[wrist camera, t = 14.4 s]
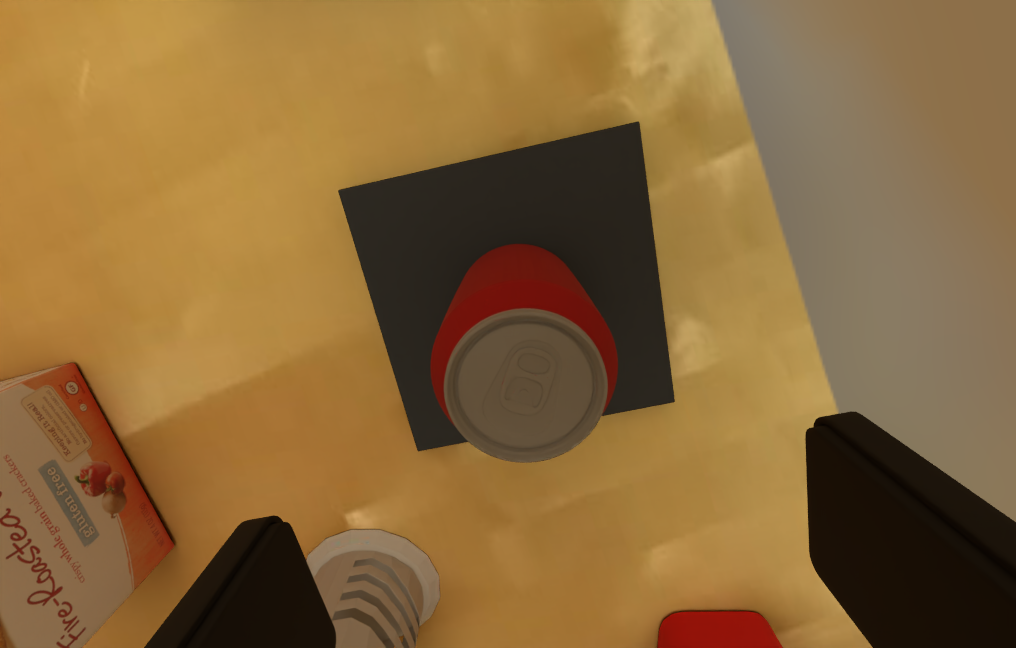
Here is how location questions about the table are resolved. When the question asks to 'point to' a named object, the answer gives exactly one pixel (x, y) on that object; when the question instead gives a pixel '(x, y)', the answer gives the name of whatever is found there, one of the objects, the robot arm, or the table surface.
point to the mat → (515, 220)
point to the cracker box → (66, 514)
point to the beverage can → (523, 357)
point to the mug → (716, 630)
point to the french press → (374, 588)
